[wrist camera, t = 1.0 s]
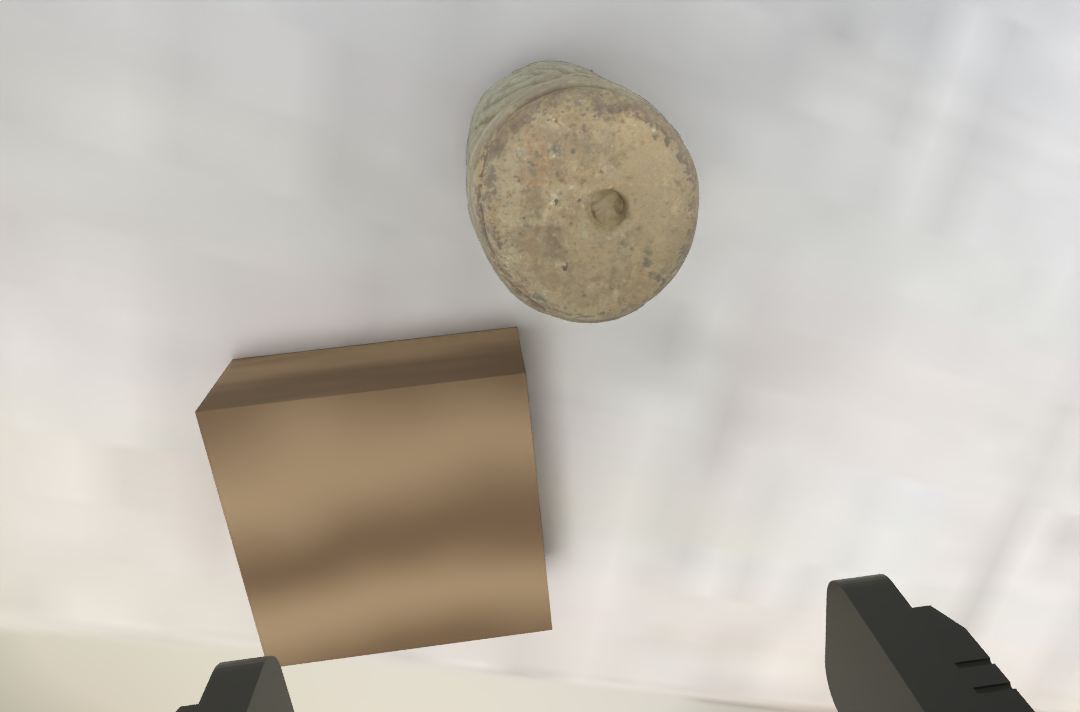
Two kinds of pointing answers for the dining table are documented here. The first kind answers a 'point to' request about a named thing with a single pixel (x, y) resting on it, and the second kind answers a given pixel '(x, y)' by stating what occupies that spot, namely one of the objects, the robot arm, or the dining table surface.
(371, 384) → the walnut block
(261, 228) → the dining table surface
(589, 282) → the carving
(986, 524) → the dining table surface
